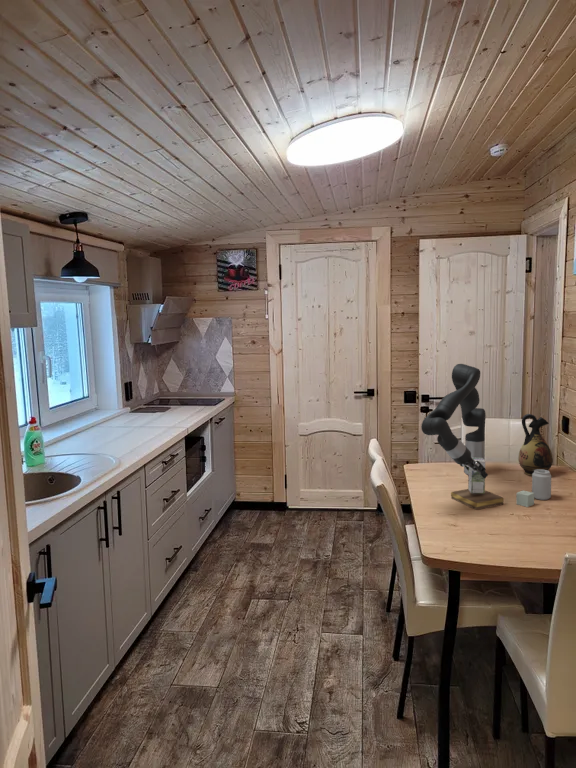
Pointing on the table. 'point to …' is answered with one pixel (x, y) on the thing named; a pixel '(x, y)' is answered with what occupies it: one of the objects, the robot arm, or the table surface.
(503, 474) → the table surface
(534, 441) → the ceramic jug
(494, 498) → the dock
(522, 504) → the pale green cube
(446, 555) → the table surface
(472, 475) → the syrup box
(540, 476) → the can
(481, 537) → the table surface
